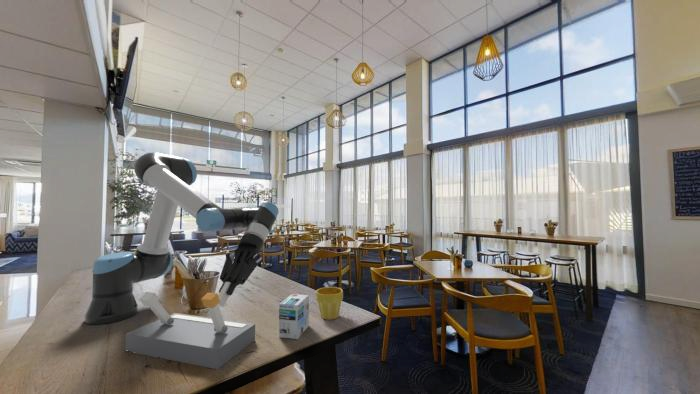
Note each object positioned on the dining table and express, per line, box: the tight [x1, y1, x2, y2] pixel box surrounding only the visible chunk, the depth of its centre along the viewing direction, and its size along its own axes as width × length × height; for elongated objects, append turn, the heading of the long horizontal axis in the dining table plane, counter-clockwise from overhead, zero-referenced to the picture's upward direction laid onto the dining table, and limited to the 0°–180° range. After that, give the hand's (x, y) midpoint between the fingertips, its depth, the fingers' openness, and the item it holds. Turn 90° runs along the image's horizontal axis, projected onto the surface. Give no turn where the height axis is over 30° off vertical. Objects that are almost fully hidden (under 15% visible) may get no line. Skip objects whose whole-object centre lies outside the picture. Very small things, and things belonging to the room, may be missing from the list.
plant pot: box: [315, 286, 344, 320], centre depth 105 cm, size 10×10×10 cm
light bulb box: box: [278, 293, 310, 340], centre depth 92 cm, size 11×7×11 cm, turn 168°
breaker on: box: [138, 291, 174, 324], centre depth 83 cm, size 3×3×13 cm
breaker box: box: [125, 312, 256, 370], centre depth 83 cm, size 32×16×5 cm, turn 74°
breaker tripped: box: [201, 292, 228, 333], centre depth 78 cm, size 3×3×13 cm
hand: (218, 304), depth 79 cm, fingers closed
